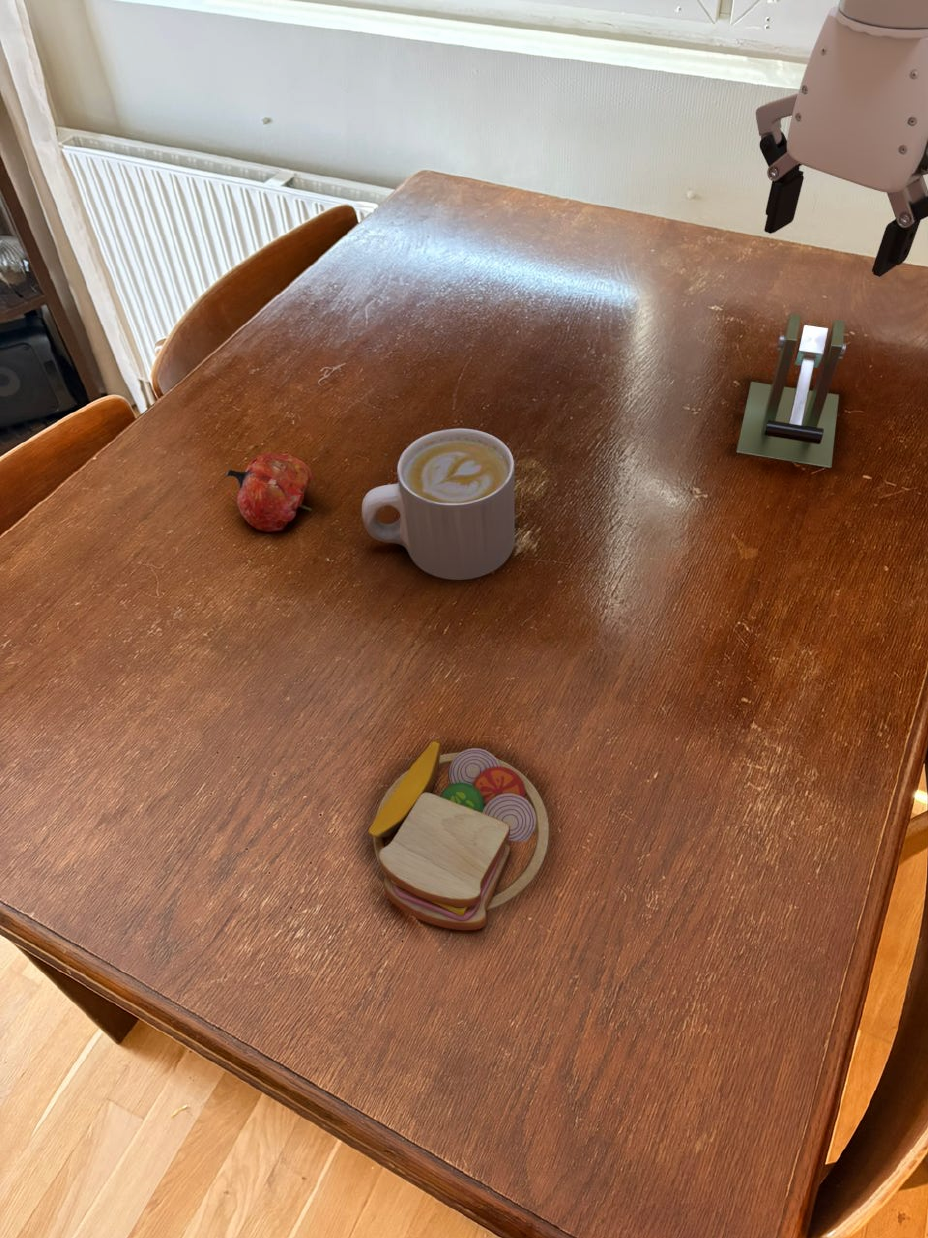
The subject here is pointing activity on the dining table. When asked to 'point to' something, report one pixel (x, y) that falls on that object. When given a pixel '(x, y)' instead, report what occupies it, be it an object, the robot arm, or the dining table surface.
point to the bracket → (779, 401)
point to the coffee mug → (450, 504)
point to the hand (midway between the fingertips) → (830, 247)
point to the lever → (802, 389)
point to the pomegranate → (272, 490)
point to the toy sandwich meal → (456, 836)
